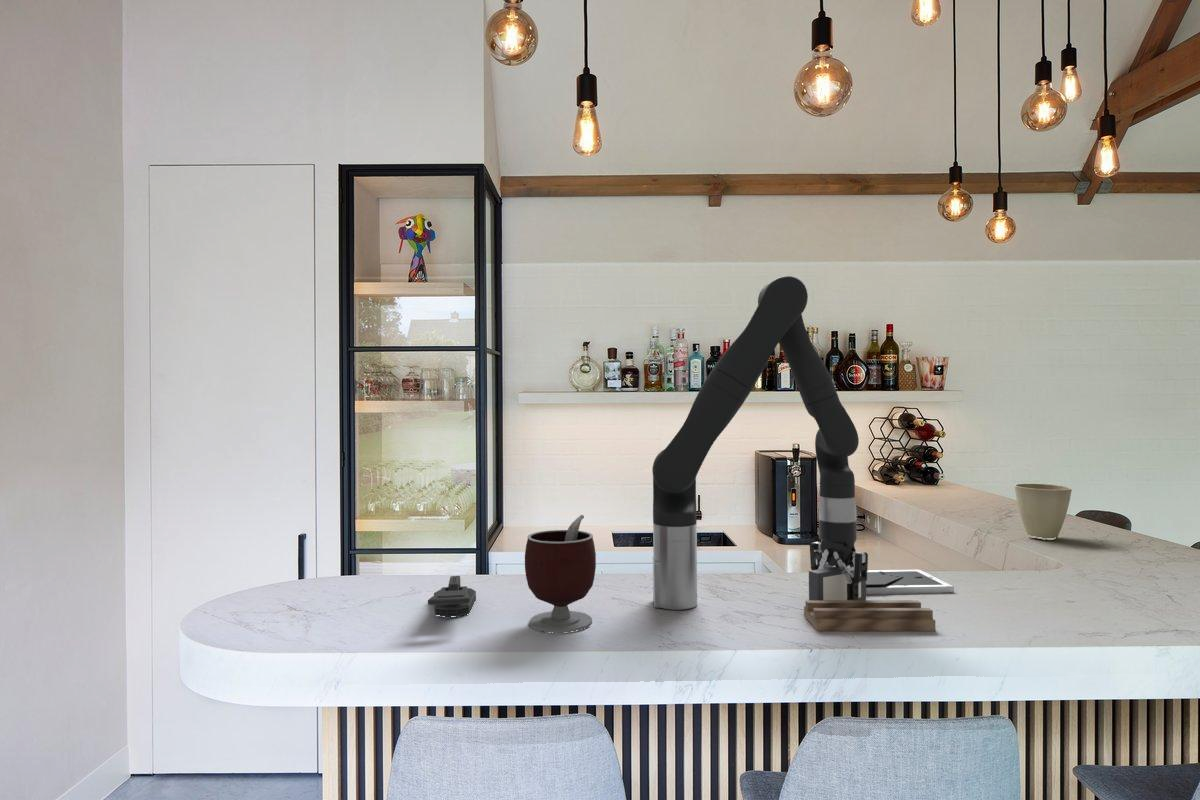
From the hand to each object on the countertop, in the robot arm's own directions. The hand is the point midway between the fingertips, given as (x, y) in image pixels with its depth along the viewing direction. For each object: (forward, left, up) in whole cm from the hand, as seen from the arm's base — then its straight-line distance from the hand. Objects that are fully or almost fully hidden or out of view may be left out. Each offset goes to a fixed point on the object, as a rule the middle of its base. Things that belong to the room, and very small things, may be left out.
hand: (838, 596), depth 150 cm
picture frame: (+18, +17, -3) cm, 25 cm away
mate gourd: (-57, -11, -2) cm, 58 cm away
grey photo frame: (0, 0, -2) cm, 2 cm away
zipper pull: (-80, -6, -2) cm, 80 cm away
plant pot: (+84, +71, -2) cm, 110 cm away
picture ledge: (+2, -12, -2) cm, 12 cm away
